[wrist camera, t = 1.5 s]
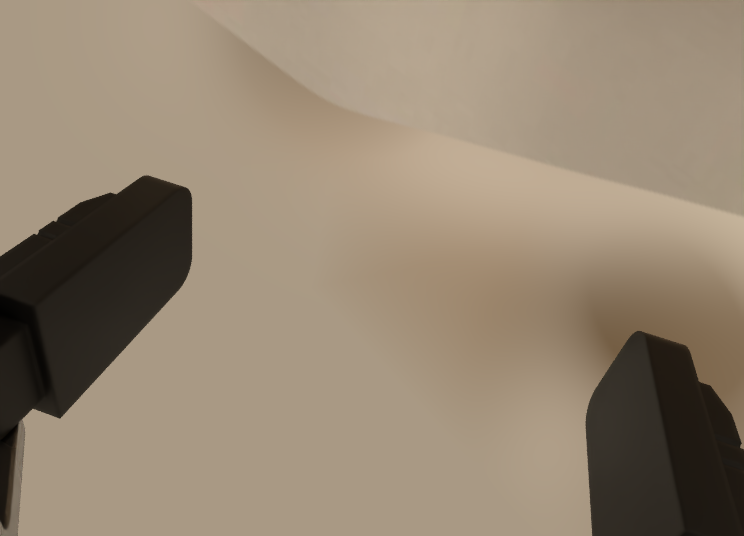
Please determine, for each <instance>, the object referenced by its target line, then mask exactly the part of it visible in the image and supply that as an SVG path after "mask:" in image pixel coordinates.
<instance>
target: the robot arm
mask: <svg viewBox="0 0 744 536" xmlns="http://www.w3.org/2000/svg"><path fill="white" fill-rule="evenodd" d="M191 261H192V197H191V193H190V191H189V189H187V188H186V187H183V186H179V185H176V184H173V183H170V182H167V181H164V180H160V179H158V178H154V177H151V176H142V177H141V178H139V179H138V180H136V181H135V182H133V183H132V184H130V185H129V186H128V187H126V188H125V189H123V190H122V191H121V192H119V193H118V194H113V193H108V194H105V195H102V196H99V197H96V198H93V199H90V200H86V201H83V202H80V203H79V204H78V205H76V206H75V207H73V208H72V209H70V210H69V211H67V212H66V213H64V214H63V215H61V216H60V217H58V220H57V221H56V222H55V221H52V222H51V223H49V224H48V225H46V226H45V227H44V228H42V229H40V230H39V233H38V234H37V235H36V234H33V235H31V236H30V237H28V238H27V239H25V240H24V241H23V242H21V243H20V244H18V245H17V246H15V247H14V248H12V249H11V250H9V251H8V252H6V253H5V254H3V255H2V256H0V536H18V522H19V508H20V507H19V506H20V495H21V482H22V467H23V455H24V441H25V428H24V424H23V421H22V419H23V417H25V416H26V415H27V414H28V413H29V411H31V410H32V409H36V410H38V411H41V412H44V413H46V414H49V415H52V416H54V417H57V418H61V417H62V416H63V415H64V414H65V413H66V412H67V410H68V409H69V408H70V407H71V406H72V405H73V404H74V403H75V402H76V401H77V400H78V399H79V397H80V396H81V395H82V394H83V393H84V392H85V391H86V390H87V389H88V388H89V387H90V385H91V384H92V383H93V382H94V381H95V380H96V379H97V378H98V377H99V376H100V375H101V374H102V373H103V371H104V370H105V369H106V368H107V367H108V366H109V365H110V364H111V363H112V361H114V360H115V358H116V357H117V356H118V355H119V354H120V353H121V352H122V351H123V350H124V349H125V348H126V346H127V345H128V344H129V343H130V342H131V341H132V340H133V339H134V338H135V337H136V336H137V335H138V333H139V332H140V331H141V330H142V329H143V328H144V327H145V326H146V325H147V324H148V323H149V322H150V321H151V319H152V318H153V317H154V316H155V315H156V314H157V313H158V312H159V311H160V310H161V308H163V306H164V305H165V304H166V303H167V302H168V301H169V300H170V298H172V297H173V296H174V295H175V293H176V292H177V291H178V290H179V289H180V288H181V286H182V285H183V283H184V281H185V280H186V278H187V275H188V273H189V270H190V266H191ZM586 439H587V456H588V472H589V488H590V505H591V521H592V536H744V449H741V448H740V445H741V444H742V443H741V440H740V438H739V434H738V431H737V428H736V426H735V422H734V420H733V417H732V414H731V413H730V411H729V410H728V409H727V407H726V406H725V405H724V403H723V402H722V401H721V399H720V398H719V397H718V395H717V394H716V393H715V391H714V390H713V389H712V387H711V386H710V385H707V384H704V383H701V382H699V381H698V377H697V374H696V371H695V367H694V364H693V360H692V357H691V354H690V351H689V349H688V348H687V347H686V346H685V345H682V344H679V343H676V342H673V341H670V340H667V339H664V338H660V337H657V336H654V335H651V334H647V333H644V332H642V331H637V332H635V333H634V334H632V335H631V336H630V338H629V339H628V340H627V342H626V343H625V345H624V346H623V348H622V349H621V351H620V352H619V354H618V355H617V357H616V358H615V360H614V361H613V363H612V364H611V366H610V368H609V369H608V371H607V372H606V374H605V375H604V377H603V378H602V380H601V381H600V383H599V384H598V386H597V387H596V389H595V391H594V393H593V395H592V397H591V399H590V402H589V405H588V409H587V415H586Z"/></svg>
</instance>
